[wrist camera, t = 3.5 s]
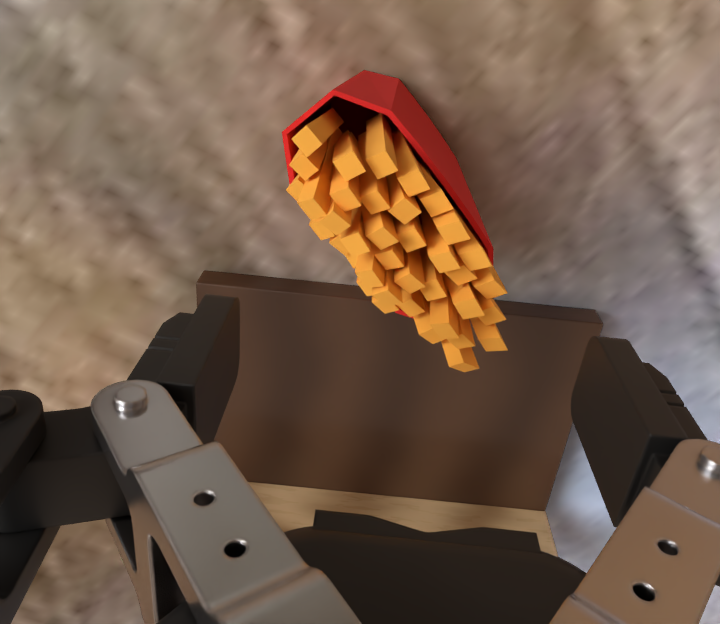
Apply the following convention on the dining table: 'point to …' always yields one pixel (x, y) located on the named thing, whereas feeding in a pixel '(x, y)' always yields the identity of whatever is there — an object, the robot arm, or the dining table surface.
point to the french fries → (398, 211)
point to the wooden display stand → (396, 409)
